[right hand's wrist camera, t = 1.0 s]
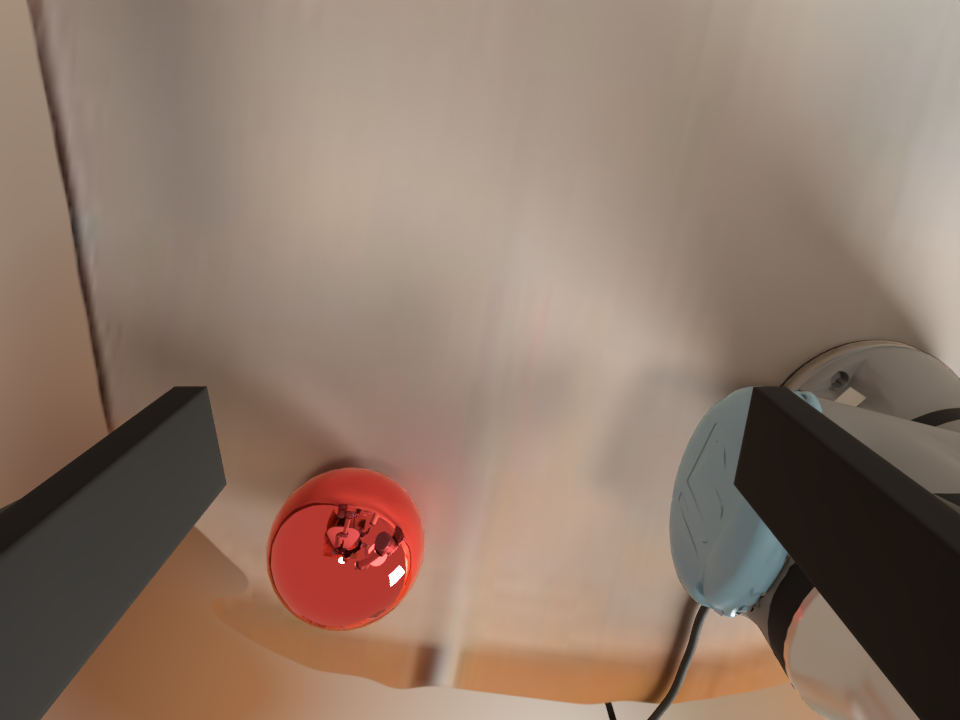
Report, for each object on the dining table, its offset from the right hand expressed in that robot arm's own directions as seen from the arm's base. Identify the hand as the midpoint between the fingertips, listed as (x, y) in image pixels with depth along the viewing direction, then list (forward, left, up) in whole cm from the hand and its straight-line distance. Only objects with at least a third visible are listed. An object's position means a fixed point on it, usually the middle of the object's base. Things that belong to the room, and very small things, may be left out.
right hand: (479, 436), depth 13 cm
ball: (+22, -10, -28) cm, 37 cm away
